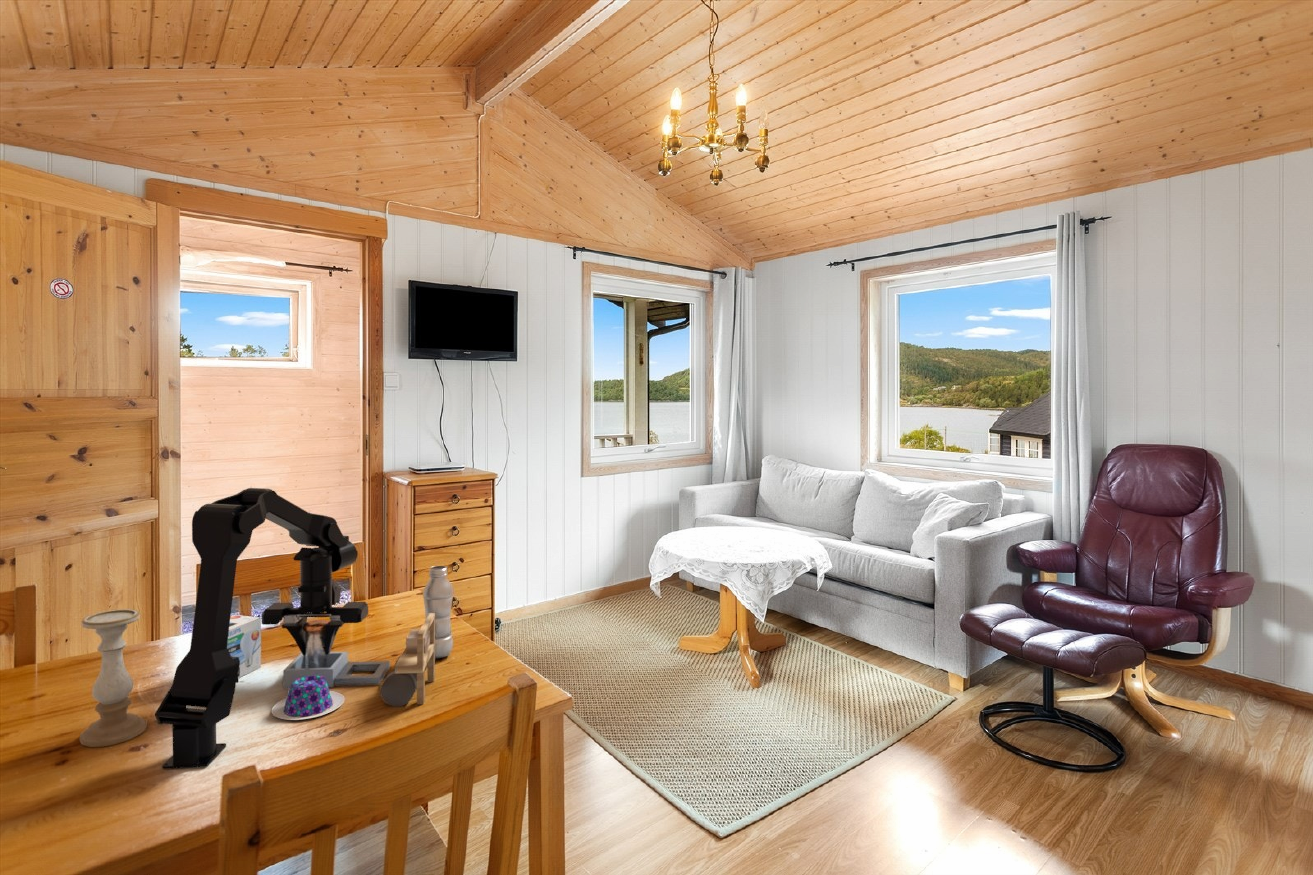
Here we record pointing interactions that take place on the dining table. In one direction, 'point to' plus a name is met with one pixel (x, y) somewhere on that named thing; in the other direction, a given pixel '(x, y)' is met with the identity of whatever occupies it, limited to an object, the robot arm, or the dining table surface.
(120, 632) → the candle holder
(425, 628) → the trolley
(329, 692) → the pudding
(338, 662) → the tray
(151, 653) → the dining table surface
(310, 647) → the grey brown-topped cylinder
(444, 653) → the plastic bottle
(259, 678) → the dining table surface
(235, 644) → the light bulb box
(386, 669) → the collar
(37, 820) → the dining table surface
